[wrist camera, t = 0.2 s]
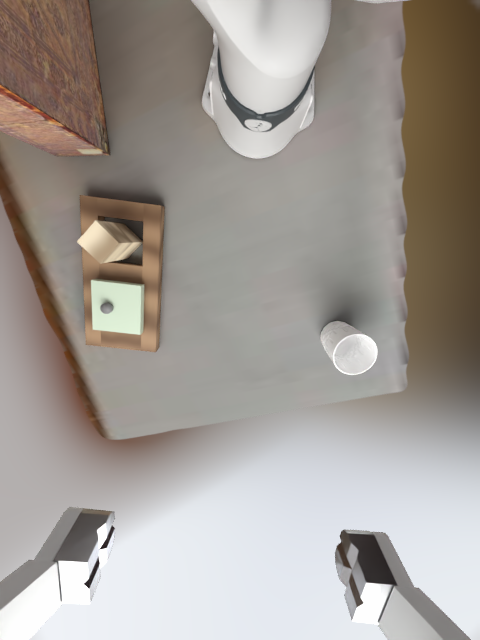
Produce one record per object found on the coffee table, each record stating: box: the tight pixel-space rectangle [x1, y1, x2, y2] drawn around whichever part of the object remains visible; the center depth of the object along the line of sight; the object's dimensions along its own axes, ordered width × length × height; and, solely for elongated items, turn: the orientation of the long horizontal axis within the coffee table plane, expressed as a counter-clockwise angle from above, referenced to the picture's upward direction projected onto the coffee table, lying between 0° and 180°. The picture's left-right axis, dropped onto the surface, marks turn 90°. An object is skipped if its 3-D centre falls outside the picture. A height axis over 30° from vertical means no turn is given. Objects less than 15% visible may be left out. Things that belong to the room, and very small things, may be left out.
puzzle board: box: [80, 195, 165, 352], centre depth 53 cm, size 28×14×2 cm, turn 173°
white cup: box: [320, 321, 378, 375], centre depth 53 cm, size 8×8×10 cm
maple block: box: [77, 220, 143, 264], centre depth 47 cm, size 4×4×11 cm
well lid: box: [91, 279, 144, 335], centre depth 52 cm, size 10×9×3 cm
